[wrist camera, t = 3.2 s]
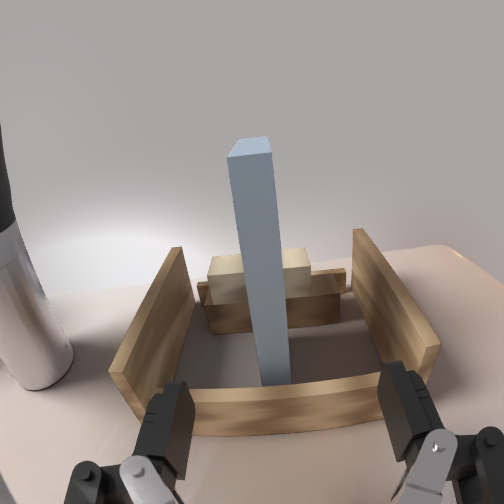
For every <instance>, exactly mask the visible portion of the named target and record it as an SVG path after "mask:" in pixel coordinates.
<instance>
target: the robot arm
mask: <svg viewBox="0 0 504 504" xmlns="http://www.w3.org/2000/svg"><path fill="white" fill-rule="evenodd" d="M73 357H74V351H73V348H72V346H71V344H70V343H69V341H68V339H67V337H66V335H65V334H64V332H63V330H62V328H61V326H60V324H59V322H58V320H57V318H56V316H55V314H54V312H53V310H52V308H51V306H50V304H49V302H48V299H47V297H46V295H45V293H44V291H43V289H42V286H41V284H40V282H39V279H38V277H37V275H36V272H35V270H34V268H33V265H32V263H31V260H30V257H29V255H28V252H27V250H26V247H25V245H24V242H23V239H22V237H21V233H20V230H19V227H18V224H17V221H16V217H15V214H14V211H13V207H12V200H11V190H10V184H9V179H8V175H7V169H6V164H5V159H4V152H3V144H2V135H1V126H0V359H1V361H2V362H3V364H4V365H5V367H6V368H7V370H8V371H9V372H10V374H11V375H12V376H14V378H15V379H16V381H17V382H18V383H19V384H20V386H21V387H23V388H25V389H28V390H39V389H43V388H46V387H48V386H50V385H52V384H54V383H55V382H57V381H58V380H59V379H60V378H61V377H62V376H63V375H64V374H65V373H66V372H67V370H68V369H69V368H70V366H71V363H72V361H73ZM377 396H378V400H379V404H380V407H381V410H382V413H383V416H384V420H385V423H386V426H387V430H388V433H389V436H390V440H391V443H392V447H393V450H394V454H395V458H396V461H397V462H401V461H404V460H405V462H406V466H407V467H406V469H405V471H404V473H403V475H402V477H401V479H400V481H399V483H398V485H397V487H396V489H395V490H394V492H393V494H392V496H391V498H390V500H389V501H388V503H387V504H440V502H441V500H442V494H441V491H442V488H443V485H444V483H445V481H451V480H452V484H453V488H454V492H455V497H456V501H457V504H504V435H503V433H502V432H501V430H499V429H498V428H496V427H491V426H490V427H485V428H483V429H482V430H481V431H480V432H479V433H478V434H477V435H462V436H460V435H454V434H453V433H452V432H451V431H449V430H446V429H445V427H444V426H443V424H442V422H441V419H440V417H439V415H438V412H437V410H436V408H435V405H434V403H433V401H432V399H431V397H430V394H429V392H428V390H427V389H426V385H425V383H424V381H423V379H422V377H421V376H420V375H419V374H417V373H416V372H415V371H414V370H410V371H406V368H405V366H404V364H403V362H402V361H401V360H398V361H393V362H388V363H384V364H383V365H382V369H381V373H380V377H379V381H378V385H377ZM195 413H196V411H195V404H194V401H193V399H192V396H191V394H190V392H189V389H188V387H187V385H186V383H185V382H175V381H167V382H166V383H165V386H164V389H163V393H162V394H161V393H156V394H155V395H154V396H153V397H152V398H151V400H150V401H149V402H148V405H147V408H146V412H145V415H144V418H143V423H142V425H141V428H140V432H139V435H138V439H137V442H136V446H135V449H134V452H133V454H132V456H131V457H129V458H127V459H126V460H124V461H123V463H122V464H119V465H113V466H104V467H99V466H98V465H97V464H95V463H94V462H91V461H83V462H81V463H79V464H77V465H76V466H75V468H74V469H73V472H72V475H71V479H70V482H69V486H68V489H67V493H66V497H65V501H64V504H186V503H185V502H184V500H183V499H182V497H181V496H180V494H179V493H178V491H177V490H176V488H175V483H176V479H178V480H185V474H186V468H187V462H188V456H189V450H190V444H191V438H192V432H193V426H194V420H195Z"/></svg>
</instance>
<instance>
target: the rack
mask: <svg viewBox="0 0 504 504" xmlns="http://www.w3.org/2000/svg"><path fill="white" fill-rule="evenodd" d="M328 273H333V275H334V278H335V280H336V283H337V285H338V288H339V291H340V293H345V290H346V271H345V268H339V269H330V270H321V271H311V275H318V274H328ZM351 288H352V291H353V293H354V295H355V298H356V300H357V302H358V304H359V307H360V309H361V311H362V314H363V316H364V318H365V321H366V323H367V326H368V328H369V330H370V333H371V335H372V338H373V340H374V343H375V345H376V348H377V350H378V353H379V355H380V358H381V360H382V363H383V364H384V363H388V362H393V361H398V360H401V361H402V362H403V364H404V366H405V368H406V371H410V370H414V371H415V372H416V373H417V374H419V375H420V376H421V377H422V379H423V381H424V383H425V385H426V383H427V381H428V378H429V376H430V373H431V371H432V368H433V365H434V363H435V360H436V357H437V355H438V352H439V349H440V346H441V342H440V341H439V339H438V337H437V336H436V334H435V332H434V331H433V329H432V327H431V326H430V324H429V323H428V321H427V319H426V318H425V316H424V315H423V313H422V312H421V310H420V309H419V307H418V305H417V304H416V302H415V301H414V299H413V298H412V296H411V295H410V293H409V292H408V290H407V289H406V288H405V286H404V285H403V283H402V282H401V280H400V279H399V277H398V276H397V274H396V273H395V272H394V270H393V269H392V267H391V266H390V265H389V263H388V262H387V260H386V259H385V258H384V256H383V255H382V254H381V252H380V251H379V250H378V248H377V247H376V245H375V244H374V243H373V241H372V240H371V239H370V237H369V236H368V235H367V233H366V232H365V231H364V230H363V228H361V229H353V254H352V279H351ZM197 289H198V293H199V297H200V301H201V305H202V306H204V304H205V300H206V296H207V293H208V289H209V282H208V281H205V282H198V284H197ZM194 306H195V298H194V295H193V291H192V287H191V283H190V279H189V275H188V271H187V267H186V263H185V259H184V255H183V251H182V247H174V248H172V249H171V250H170V252H169V254H168V256H167V257H166V259H165V261H164V263H163V265H162V266H161V268H160V270H159V272H158V274H157V275H156V277H155V279H154V281H153V283H152V285H151V287H150V288H149V290H148V292H147V294H146V296H145V298H144V300H143V302H142V304H141V305H140V307H139V309H138V311H137V313H136V315H135V317H134V319H133V321H132V323H131V325H130V327H129V329H128V331H127V333H126V335H125V337H124V339H123V341H122V343H121V345H120V347H119V349H118V351H117V353H116V355H115V357H114V360H113V362H112V364H111V366H110V368H109V370H108V373H109V374H110V376H111V378H112V379H113V381H114V383H115V384H116V386H117V388H118V389H119V391H120V392H121V394H122V396H123V397H124V399H125V400H126V402H127V403H128V405H129V406H130V408H131V409H132V411H133V412H134V414H135V415H136V417H137V418H138V420H139V421H140V422H141V424H142V423H143V418H144V415H145V412H146V408H147V405H148V402H149V401H150V400H151V398H152V397H153V396H154V395H155V394H156V393H161V394H162V393H163V389H164V386H165V383H166V382H167V381H174V377H175V373H176V369H177V366H178V362H179V358H180V355H181V351H182V348H183V344H184V341H185V337H186V333H187V330H188V326H189V323H190V320H191V316H192V313H193V309H194ZM380 373H381V372H376V373H371V374H365V375H359V376H353V377H347V378H340V379H333V380H326V381H318V382H310V383H301V384H291V385H280V386H267V387H251V388H227V389H189V392H190V394H191V396H192V399H193V401H194V404H195V411H196V413H195V420H194V426H193V432H192V435H196V436H253V435H272V434H286V433H297V432H307V431H315V430H323V429H330V428H337V427H343V426H349V425H355V424H361V423H366V422H371V421H376V420H380V419H384V416H383V413H382V410H381V407H380V404H379V400H378V396H377V385H378V381H379V377H380Z"/></svg>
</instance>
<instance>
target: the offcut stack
mask: <svg viewBox="0 0 504 504" xmlns="http://www.w3.org/2000/svg"><path fill="white" fill-rule="evenodd" d="M281 252H282V264H283V276H284V288H285V301H286V314H287V328H298V327H307V326H316V325H325V324H333V323H339V311H340V291H339V288H338V285H337V283H336V280H335V278H334V275H333V273H328V274H318V275H311V265H310V262H309V259H308V255H307V252H306V249H305V248H297V249H287V250H281ZM207 278H208V282H209V289H208V293H207V296H206V300H205V304H204V307H205V310H206V314H207V318H208V322H209V326H210V330H211V333H212V334H225V333H241V332H253V327H252V320H251V314H250V308H249V301H248V295H247V289H246V282H245V276H244V270H243V263H242V257H241V254H236V255H226V256H216V257H212V260H211V264H210V267H209V271H208V274H207Z"/></svg>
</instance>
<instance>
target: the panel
mask: <svg viewBox="0 0 504 504" xmlns="http://www.w3.org/2000/svg"><path fill="white" fill-rule="evenodd" d="M227 162H228V170H229V177H230V183H231V190H232V196H233V203H234V210H235V216H236V224H237V230H238V237H239V244H240V250H241V257H242V263H243V270H244V276H245V282H246V289H247V295H248V301H249V308H250V314H251V320H252V327H253V333H254V339H255V345H256V351H257V358H258V364H259V370H260V376H261V382H262V387H267V386H280V385H291V373H290V357H289V342H288V328H287V314H286V301H285V288H284V276H283V264H282V252H281V241H280V231H279V220H278V210H277V200H276V190H275V180H274V171H273V162H272V153H271V149H270V145H269V142H268V138H267V136H266V137H257V138H249V139H240V140H238V141H237V143H236V144H235V146H234V147H233V149H232V150H231V152H230V153H229V155H228V156H227Z"/></svg>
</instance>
